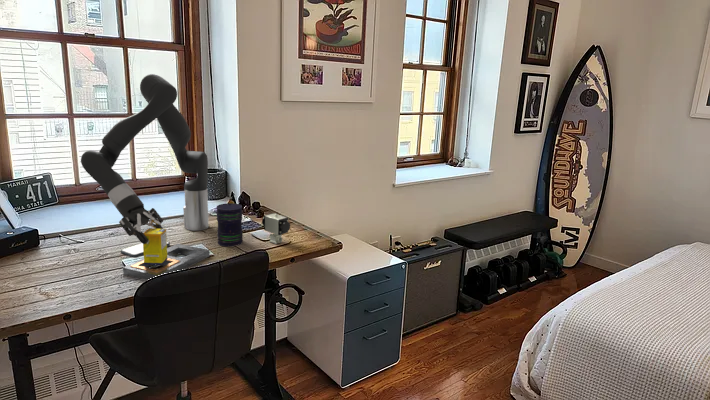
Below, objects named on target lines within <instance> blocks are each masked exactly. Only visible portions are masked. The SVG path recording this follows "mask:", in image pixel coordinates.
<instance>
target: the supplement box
mask: <svg viewBox="0 0 710 400" xmlns="http://www.w3.org/2000/svg"><path fill="white" fill-rule="evenodd" d="M143 233H144V235H145V236H146V237H147V239H148V242H147V243H146V244H143V252H144V255H143V259H144V265H154V266H158V265H163V263H164V262H165V261H166V260H167V259H168V258H167V248H168V247H167V242H168V240H167V229H166V228H163V229H155V228H153V227H151V228H147V229H146V230H145V231H144V232H143Z"/></svg>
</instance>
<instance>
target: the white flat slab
mask: <svg viewBox="0 0 710 400" xmlns="http://www.w3.org/2000/svg"><path fill="white" fill-rule="evenodd" d="M169 247H171V243H170V242H169V241H167V248H169ZM120 253H121V254H122V255H124V256H128V257H131V258H138V257H140V256H144V252H143V243H141V242H140V243H138V244H135V245H132V246H129V247H124V248H123V249H121V250H120Z"/></svg>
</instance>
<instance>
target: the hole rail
mask: <svg viewBox="0 0 710 400" xmlns="http://www.w3.org/2000/svg"><path fill="white" fill-rule="evenodd" d="M182 254H183V255H185V256H184V257H182V258H181V257H176V256H178V255H182ZM183 255H182V256H183ZM209 257H210V249H205V248H202V247H196V246H192V245H187V244H186V245H185V244H181V243H176V244H173V245H170V246H169V247H167V258H168V259H167V260H166V261H165V262H164V263H163V265H157V266H159V267H160V268H157V269H155V268H152V267H154V266H155V265H144V258H142V259H140V260H136V261H135V262H132V263H130V264H128V265H126V266H123V267H122V273H123V275H124V276H127V277H132V278H135V279H140V280H145V281H148V279H150V278H153V277H155V276H158V275H161V274H164V273H169V272H173V271H177V270H182V269H184V270H186V269H188V268H190V267H192V266H193V265H196V264H198V263H199V262H201V261H203V260H205V259H208V258H209ZM182 271H183V270H182Z"/></svg>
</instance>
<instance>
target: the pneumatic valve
mask: <svg viewBox="0 0 710 400" xmlns="http://www.w3.org/2000/svg"><path fill="white" fill-rule="evenodd" d="M261 224H262V226H263V231H265V232H270V234H269V243H272V244H275V245H277V244H279V243H280V244H281V243H283V236H282V235H284V234H287V233H289V231H290V229H291V224H290V222H289V217H286V216H284V215H281V214H280V215H279V214H278V213H273V212H272V213H268V214H265V215H263V218H262V220H261Z"/></svg>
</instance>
